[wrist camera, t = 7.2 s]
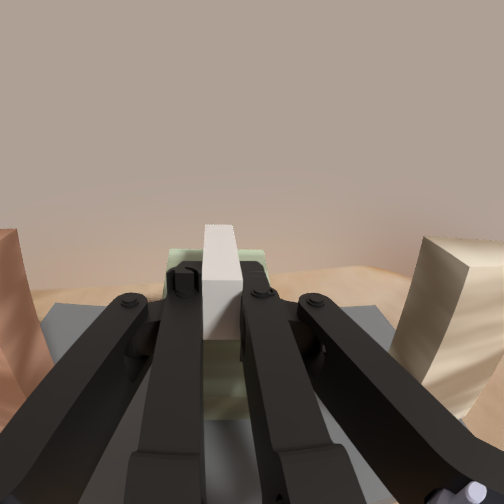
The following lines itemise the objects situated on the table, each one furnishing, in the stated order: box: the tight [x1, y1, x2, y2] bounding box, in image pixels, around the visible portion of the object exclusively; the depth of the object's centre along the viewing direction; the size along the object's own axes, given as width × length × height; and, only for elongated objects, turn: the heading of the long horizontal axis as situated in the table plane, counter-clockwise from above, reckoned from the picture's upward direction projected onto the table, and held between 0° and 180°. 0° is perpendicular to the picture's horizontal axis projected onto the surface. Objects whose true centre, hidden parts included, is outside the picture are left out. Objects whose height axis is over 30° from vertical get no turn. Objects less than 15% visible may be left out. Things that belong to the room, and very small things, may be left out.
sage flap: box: [162, 249, 270, 420], centre depth 17 cm, size 3×6×10 cm
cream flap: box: [388, 236, 504, 420], centre depth 12 cm, size 3×6×10 cm, turn 97°
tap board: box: [40, 303, 468, 504], centre depth 17 cm, size 17×28×2 cm, turn 97°
